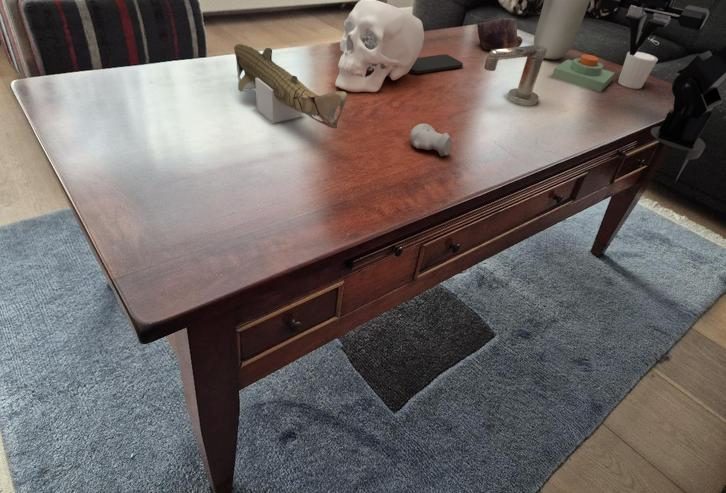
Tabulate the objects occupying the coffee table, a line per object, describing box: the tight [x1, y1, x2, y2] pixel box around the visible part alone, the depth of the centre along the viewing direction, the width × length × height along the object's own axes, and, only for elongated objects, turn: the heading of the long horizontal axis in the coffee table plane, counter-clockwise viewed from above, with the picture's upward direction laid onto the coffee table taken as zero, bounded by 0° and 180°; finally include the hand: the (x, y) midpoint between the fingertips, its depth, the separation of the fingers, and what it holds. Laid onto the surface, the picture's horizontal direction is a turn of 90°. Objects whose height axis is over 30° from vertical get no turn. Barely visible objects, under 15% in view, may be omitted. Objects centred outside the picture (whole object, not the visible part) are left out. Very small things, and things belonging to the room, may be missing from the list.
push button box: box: [551, 57, 616, 93], centre depth 117 cm, size 12×10×4 cm
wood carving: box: [233, 43, 348, 129], centre depth 84 cm, size 9×35×11 cm, turn 37°
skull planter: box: [334, 0, 425, 93], centre depth 102 cm, size 14×20×19 cm
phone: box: [409, 53, 464, 75], centre depth 115 cm, size 7×1×15 cm
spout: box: [483, 44, 547, 72], centre depth 96 cm, size 15×3×4 cm, turn 119°
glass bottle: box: [533, 0, 591, 60], centre depth 120 cm, size 10×10×28 cm
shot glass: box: [617, 50, 659, 90], centre depth 116 cm, size 7×7×7 cm
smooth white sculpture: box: [409, 123, 453, 157], centre depth 82 cm, size 4×8×5 cm
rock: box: [476, 17, 523, 52], centre depth 127 cm, size 12×9×10 cm
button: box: [579, 54, 600, 67], centre depth 115 cm, size 4×4×2 cm
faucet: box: [507, 56, 544, 107], centre depth 102 cm, size 6×6×9 cm
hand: (632, 54), depth 97 cm, fingers closed
